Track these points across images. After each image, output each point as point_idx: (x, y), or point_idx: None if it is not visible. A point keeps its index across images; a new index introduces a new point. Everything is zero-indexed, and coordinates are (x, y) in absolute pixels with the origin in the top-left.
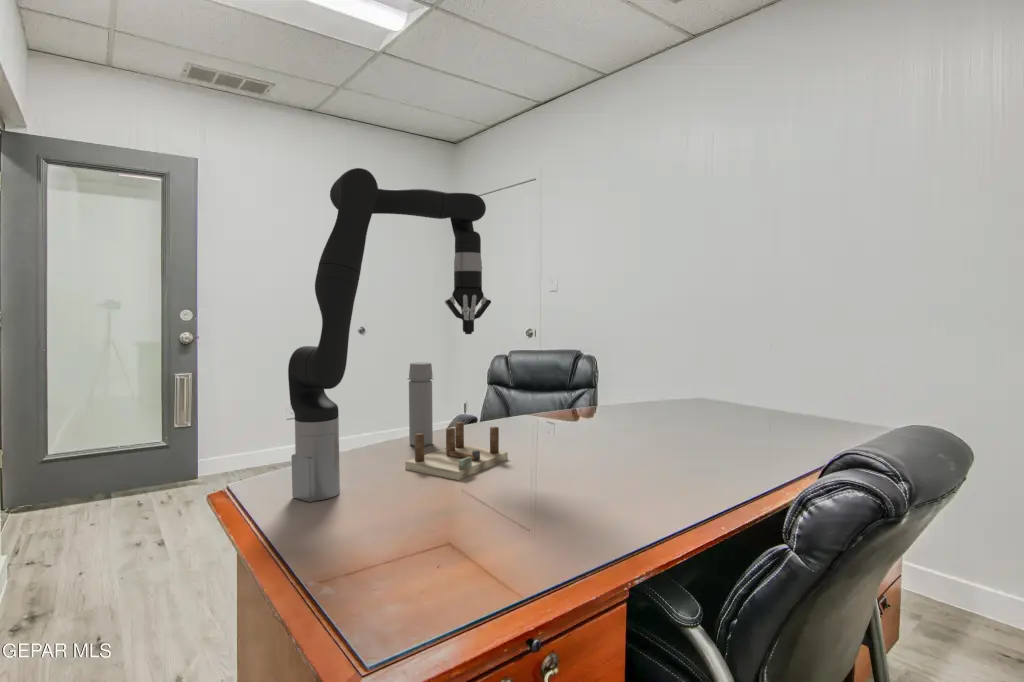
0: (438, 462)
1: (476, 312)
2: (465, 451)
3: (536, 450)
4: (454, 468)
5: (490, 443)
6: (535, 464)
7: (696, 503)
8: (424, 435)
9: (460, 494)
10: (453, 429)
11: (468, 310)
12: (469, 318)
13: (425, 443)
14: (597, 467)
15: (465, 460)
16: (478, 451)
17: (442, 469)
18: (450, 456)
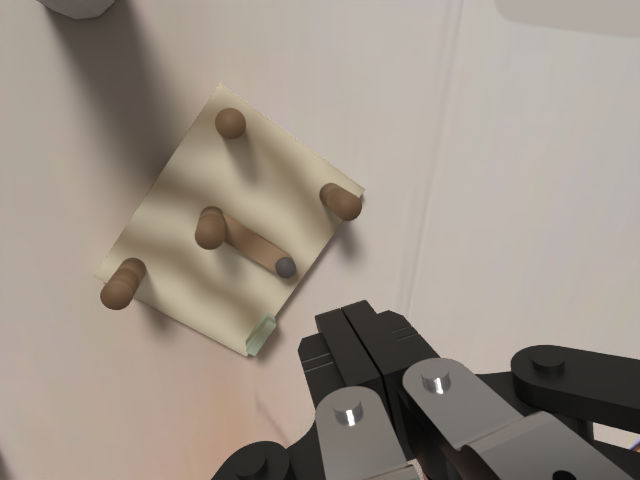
0: (188, 284)
1: (583, 417)
2: (255, 238)
3: (443, 98)
4: (234, 331)
5: (326, 205)
6: (419, 231)
7: (606, 432)
8: (87, 8)
9: (255, 425)
10: (220, 245)
11: (472, 471)
12: (419, 460)
13: (99, 14)
14: (538, 256)
15: (262, 344)
16: (292, 270)
17: (205, 334)
18: None
